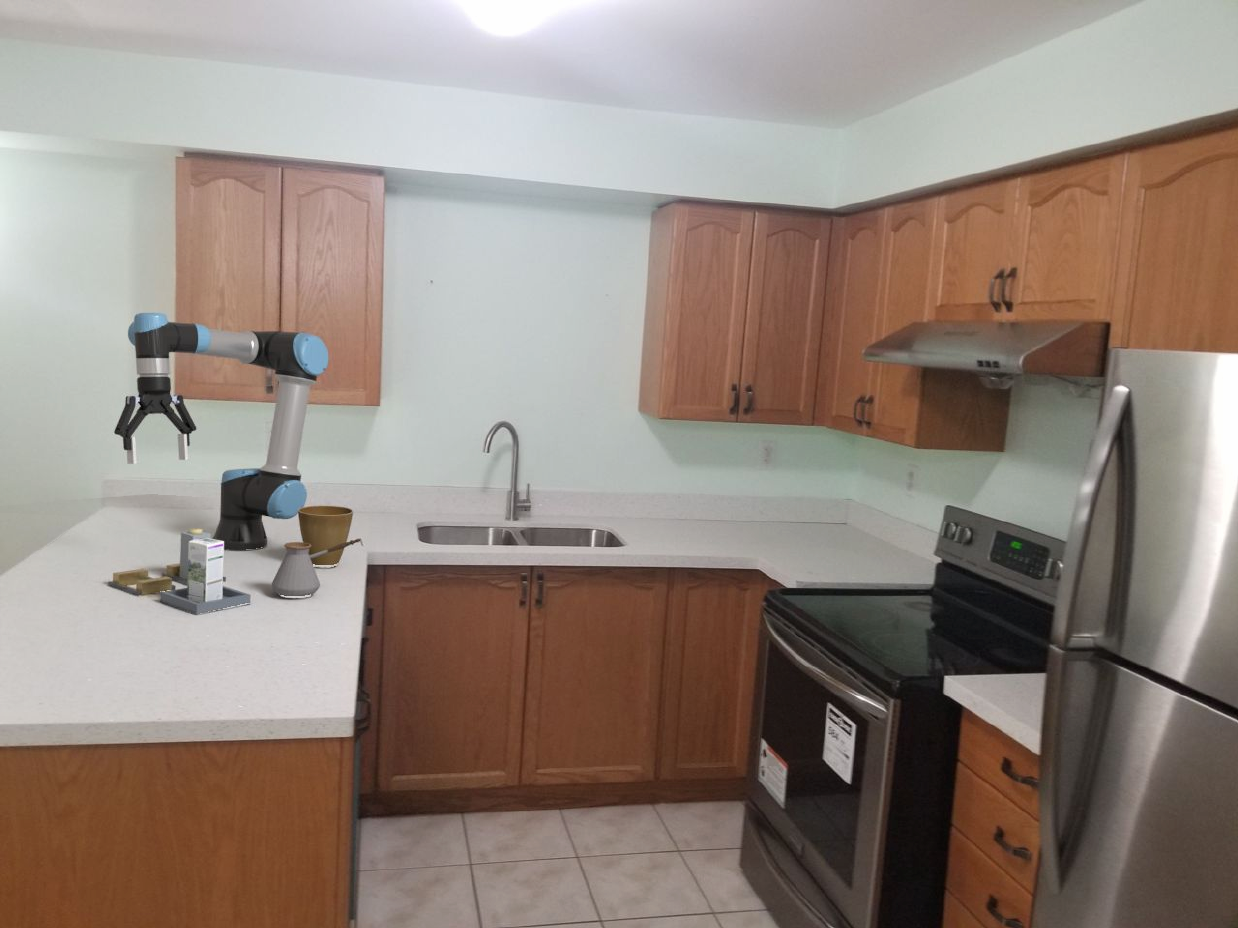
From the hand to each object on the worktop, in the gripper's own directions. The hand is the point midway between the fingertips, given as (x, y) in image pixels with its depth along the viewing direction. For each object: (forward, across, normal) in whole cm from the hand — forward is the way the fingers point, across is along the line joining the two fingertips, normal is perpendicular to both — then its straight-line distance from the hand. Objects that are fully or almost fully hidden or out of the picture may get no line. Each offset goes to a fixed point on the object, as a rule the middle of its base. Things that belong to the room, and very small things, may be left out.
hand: (158, 461), depth 247 cm
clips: (+30, -6, +3) cm, 31 cm away
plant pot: (+32, -42, +9) cm, 54 cm away
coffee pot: (+34, -20, +33) cm, 52 cm away
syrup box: (+32, +5, +24) cm, 40 cm away
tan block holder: (+30, +8, +3) cm, 31 cm away
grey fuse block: (+30, -6, +3) cm, 31 cm away
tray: (+32, +4, +24) cm, 40 cm away
